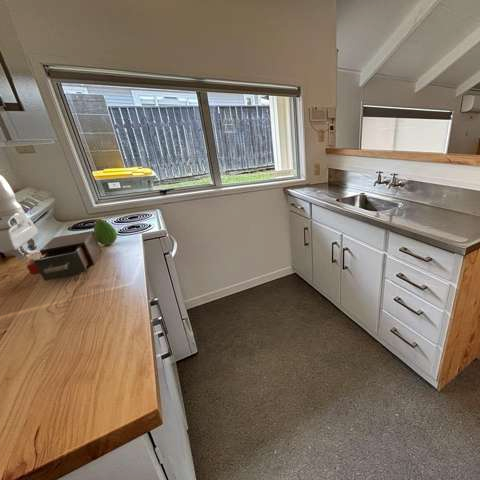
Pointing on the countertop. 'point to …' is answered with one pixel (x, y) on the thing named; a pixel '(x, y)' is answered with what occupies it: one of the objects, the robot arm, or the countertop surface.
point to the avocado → (104, 232)
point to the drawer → (63, 262)
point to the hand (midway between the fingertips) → (28, 254)
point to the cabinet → (76, 239)
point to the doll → (32, 266)
